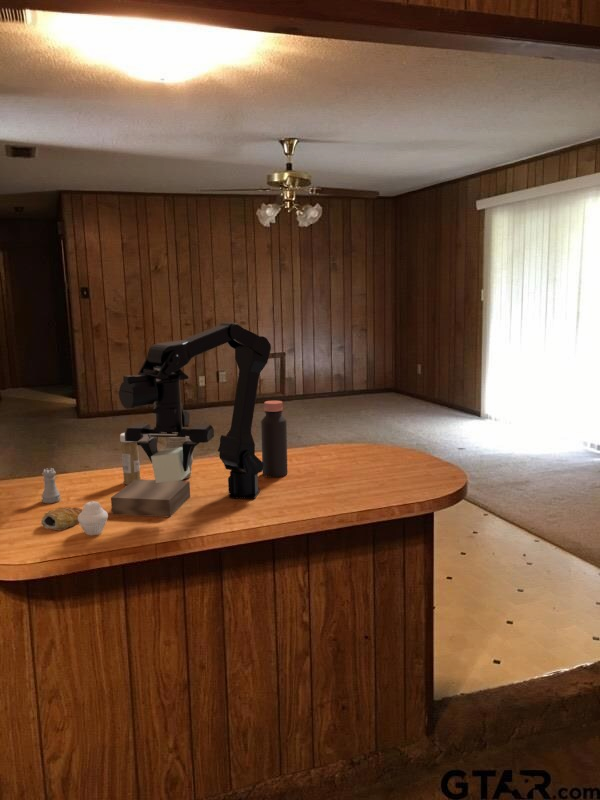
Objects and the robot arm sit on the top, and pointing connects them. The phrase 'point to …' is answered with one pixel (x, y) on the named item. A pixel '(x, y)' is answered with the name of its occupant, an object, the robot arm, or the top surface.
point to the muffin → (92, 518)
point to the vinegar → (274, 440)
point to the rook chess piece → (50, 487)
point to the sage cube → (169, 465)
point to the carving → (176, 443)
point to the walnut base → (150, 498)
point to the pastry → (61, 518)
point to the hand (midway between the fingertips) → (171, 470)
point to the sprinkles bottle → (130, 460)
